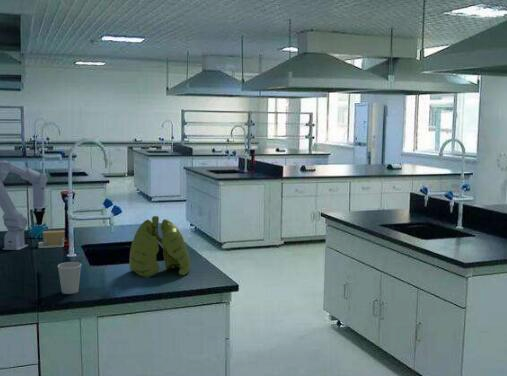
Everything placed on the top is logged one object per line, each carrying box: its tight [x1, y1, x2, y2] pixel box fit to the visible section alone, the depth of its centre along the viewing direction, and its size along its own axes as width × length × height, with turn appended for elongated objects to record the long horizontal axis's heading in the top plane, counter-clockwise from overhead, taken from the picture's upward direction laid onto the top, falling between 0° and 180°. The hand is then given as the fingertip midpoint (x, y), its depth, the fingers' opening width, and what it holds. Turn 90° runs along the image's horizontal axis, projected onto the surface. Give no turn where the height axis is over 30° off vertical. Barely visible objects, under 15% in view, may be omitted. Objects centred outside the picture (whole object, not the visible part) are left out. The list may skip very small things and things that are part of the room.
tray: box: [37, 238, 65, 249], centre depth 274 cm, size 14×10×4 cm
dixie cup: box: [57, 261, 82, 295], centre depth 202 cm, size 8×8×10 cm
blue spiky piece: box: [28, 222, 52, 240], centre depth 292 cm, size 11×6×10 cm
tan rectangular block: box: [42, 229, 66, 245], centre depth 273 cm, size 10×4×6 cm, turn 110°
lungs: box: [128, 215, 192, 278], centre depth 229 cm, size 25×16×24 cm, turn 103°
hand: (39, 223), depth 279 cm, fingers open, 7 cm apart
